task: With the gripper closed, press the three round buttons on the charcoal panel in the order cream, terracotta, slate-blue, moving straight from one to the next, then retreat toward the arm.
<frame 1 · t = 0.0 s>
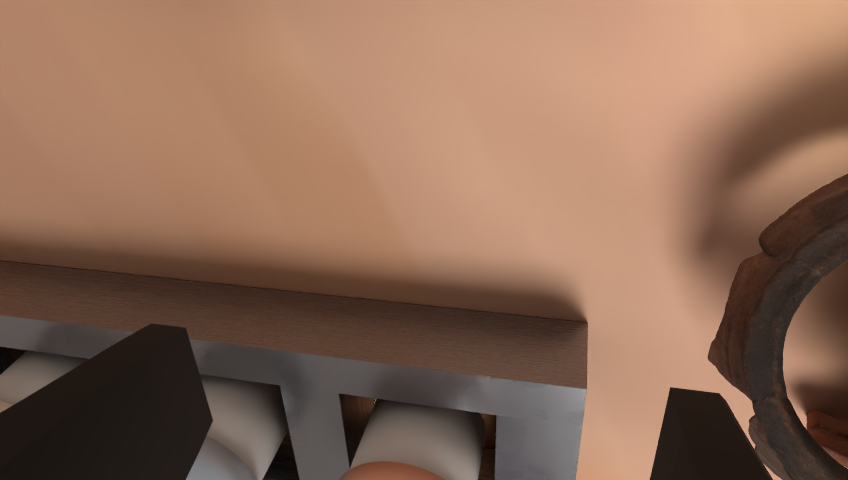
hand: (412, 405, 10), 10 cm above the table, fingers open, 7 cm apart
cream button: (39, 416, 23), point 4 cm above the table, slide at 0.0 cm
terracotta button: (413, 477, 20), point 4 cm above the table, slide at 0.0 cm
slate button: (214, 445, 22), point 4 cm above the table, slide at 0.0 cm
panel: (261, 370, 25), on the table
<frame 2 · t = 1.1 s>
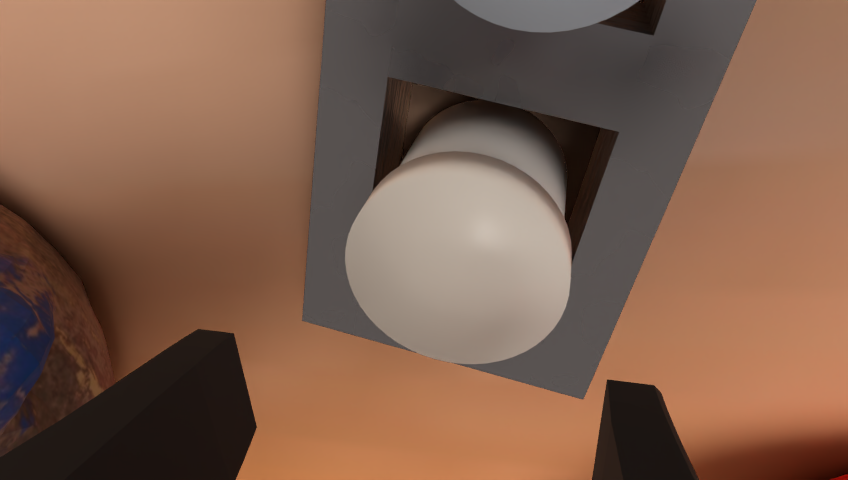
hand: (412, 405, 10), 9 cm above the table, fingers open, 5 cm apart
cream button: (471, 220, 14), point 4 cm above the table, slide at 0.0 cm
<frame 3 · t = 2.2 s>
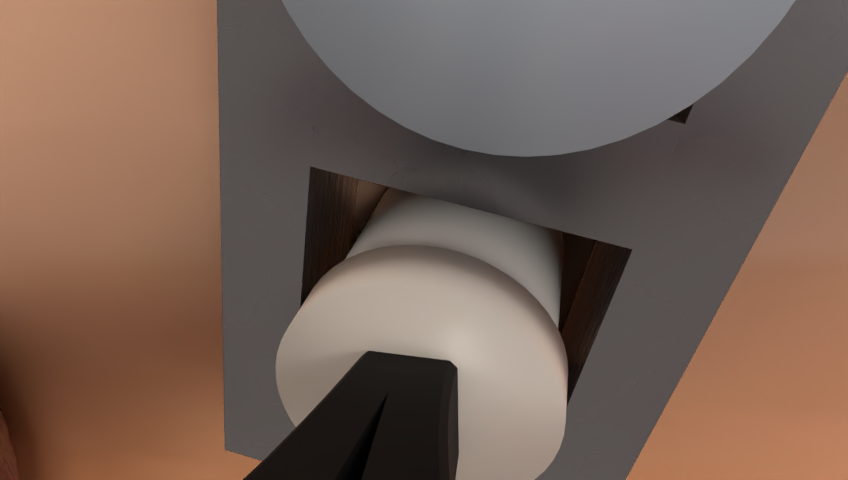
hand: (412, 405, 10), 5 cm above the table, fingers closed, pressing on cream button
cream button: (443, 313, 11), point 3 cm above the table, slide at 1.2 cm, touching gripper
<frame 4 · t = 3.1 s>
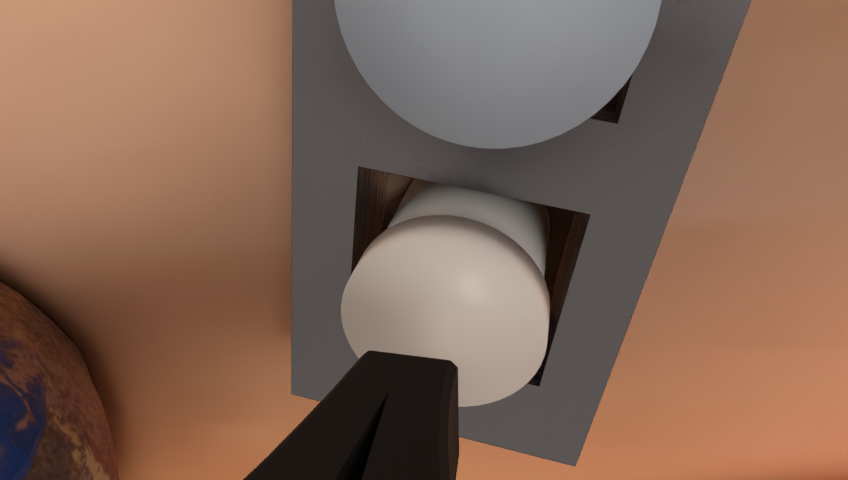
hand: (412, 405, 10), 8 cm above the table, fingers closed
cream button: (459, 270, 15), point 2 cm above the table, slide at 1.3 cm
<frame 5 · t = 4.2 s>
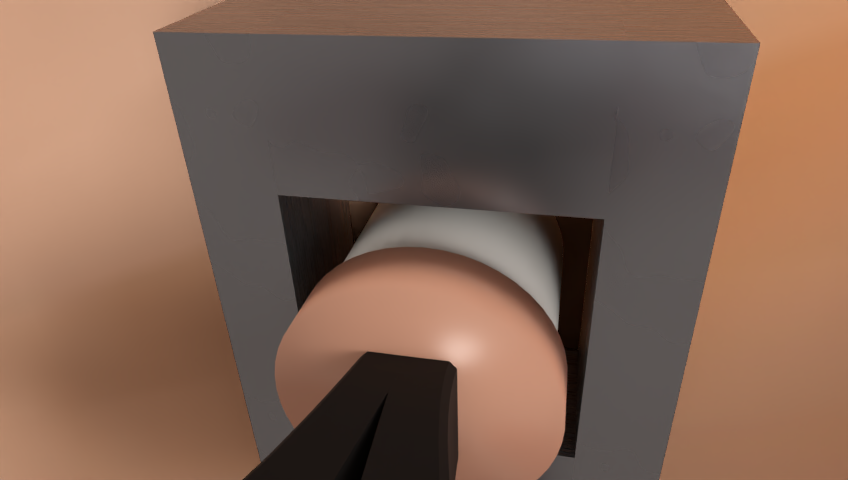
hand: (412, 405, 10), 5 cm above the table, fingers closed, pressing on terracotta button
terracotta button: (443, 315, 11), point 2 cm above the table, slide at 1.3 cm, touching gripper
panel: (466, 468, 17), on the table
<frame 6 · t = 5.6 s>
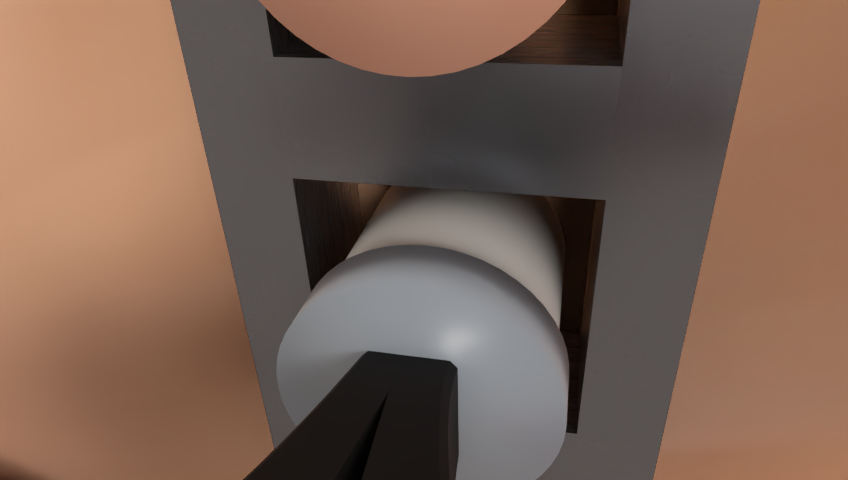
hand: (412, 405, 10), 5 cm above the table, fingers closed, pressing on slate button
slate button: (444, 313, 11), point 3 cm above the table, slide at 0.8 cm, touching gripper
panel: (471, 229, 14), on the table
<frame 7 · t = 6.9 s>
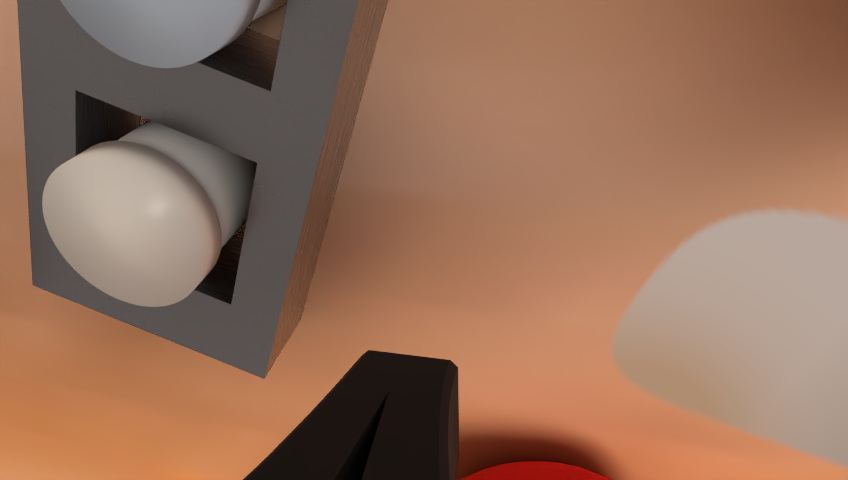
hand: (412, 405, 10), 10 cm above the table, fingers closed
cream button: (170, 196, 18), point 2 cm above the table, slide at 1.3 cm
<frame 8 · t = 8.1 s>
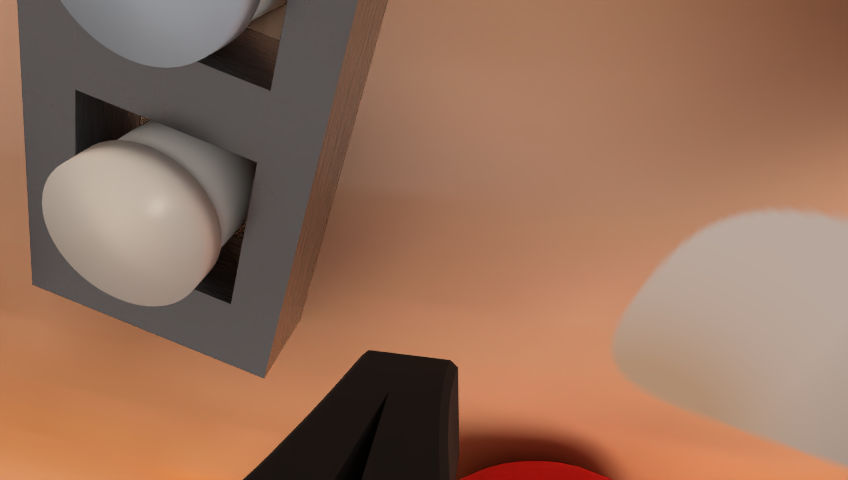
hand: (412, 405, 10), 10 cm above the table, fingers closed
cream button: (170, 195, 18), point 2 cm above the table, slide at 1.3 cm
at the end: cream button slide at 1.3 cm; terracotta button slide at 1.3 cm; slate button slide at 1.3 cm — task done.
